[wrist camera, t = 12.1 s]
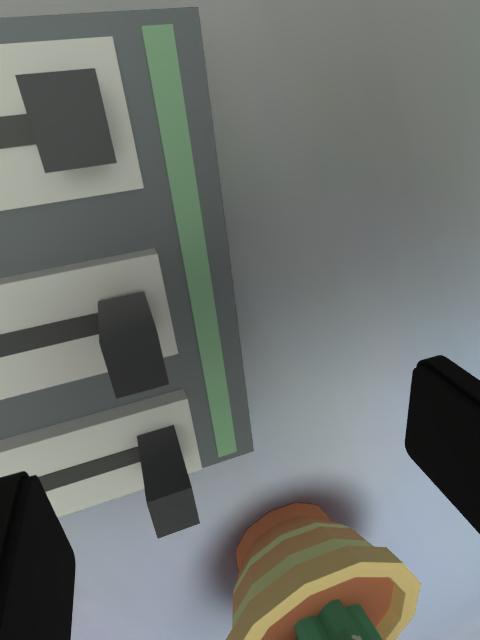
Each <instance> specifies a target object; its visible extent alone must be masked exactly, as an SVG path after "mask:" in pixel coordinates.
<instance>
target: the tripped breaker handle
mask: <svg viewBox="0 0 480 640" xmlns="http://www.w3.org/2000/svg"><path fill="white" fill-rule="evenodd" d="M98 325H99V344H100V347H101V351H102V354H103V357H104V361H105V364H106V367H107V370H108V374H109V377H110V380H111V383H112V387H113V390H114V393H115V396H116V399H118V398H121V397H125V396H129V395H132V394H136V393H140V392H143V391H147V390H150V389H154V388H158V387H161V386H165V385H169V381H168V376H167V372H166V368H165V363H164V359H163V355H162V350H161V346H160V341H159V337H158V333H157V329H156V326H155V323H154V320H153V317H152V314H151V311H150V308H149V305H148V301H147V298H146V295H145V292H144V291H143V292H139V293H134V294H130V295H125V296H120V297H116V298H111V299H107V300H102V301H98Z"/></svg>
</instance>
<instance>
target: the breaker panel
mask: <svg viewBox="0 0 480 640" xmlns="http://www.w3.org/2000/svg"><path fill="white" fill-rule="evenodd" d="M143 291H144V292H145V295H146V298H147V301H148V305H149V308H150V311H151V314H152V317H153V320H154V323H155V326H156V329H157V333H158V337H159V341H160V346H161V350H162V355H163V359H164V363H165V368H166V372H167V376H168V381H169V385H165V386H161V387H158V388H154V389H150V390H147V391H143V392H140V393H136V394H132V395H129V396H125V397H121V398H118V399H116V396H115V393H114V390H113V387H112V383H111V380H110V377H109V374H108V370H107V367H106V364H105V361H104V357H103V354H102V351H101V347H100V344H99V325H98V301H102V300H107V299H111V298H116V297H120V296H125V295H130V294H134V293H139V292H143ZM252 451H254V449H253V441H252V433H251V425H250V417H249V409H248V401H247V394H246V386H245V378H244V370H243V362H242V354H241V346H240V338H239V330H238V322H237V314H236V306H235V298H234V290H233V282H232V274H231V266H230V258H229V250H228V242H227V234H226V226H225V218H224V210H223V202H222V194H221V186H220V178H219V170H218V162H217V154H216V147H215V139H214V131H213V123H212V115H211V107H210V99H209V91H208V83H207V75H206V67H205V59H204V51H203V43H202V35H201V27H200V19H199V11H198V7H187V8H169V9H151V10H133V11H115V12H97V13H79V14H62V15H44V16H26V17H8V18H0V477H3V476H7V475H11V474H14V473H18V472H21V471H25V472H27V473H28V475H29V476H33V475H37V476H38V478H39V480H40V482H41V484H42V486H43V488H44V490H45V492H46V495H47V497H48V499H49V501H50V503H51V505H52V507H53V509H54V511H55V514H56V516H57V518H58V517H61V516H64V515H67V514H70V513H73V512H76V511H79V510H82V509H85V508H88V507H91V506H94V505H97V504H100V503H103V502H106V501H109V500H112V499H115V498H118V497H121V496H124V495H127V494H130V493H133V492H136V491H139V490H142V489H145V495H146V501H147V505H148V509H149V512H150V515H151V518H152V522H153V525H154V528H155V531H156V535H157V538H161V537H164V536H166V535H169V534H172V533H174V532H177V531H180V530H183V529H185V528H188V527H191V526H194V525H196V524H199V523H200V522H199V517H198V513H197V509H196V504H195V500H194V496H193V491H192V487H191V483H190V480H189V476H188V474H191V473H194V472H197V471H200V470H202V468H204V467H207V466H210V465H213V464H216V463H219V462H222V461H225V460H228V459H231V458H234V457H237V456H240V455H243V454H246V453H249V452H252Z"/></svg>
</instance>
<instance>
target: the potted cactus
mask: <svg viewBox="0 0 480 640" xmlns="http://www.w3.org/2000/svg"><path fill="white" fill-rule="evenodd" d="M236 558H237V567H238V569H239V574H238V577H237V581H236V584H235V587H234V590H233V624H232V630H231V632H230V634H229V635H228V637H227V639H226V640H396V639H397V637H398V636H399V635H400V633H401V632H402V631H403V629H404V628H405V627H406V625H407V624H408V623H409V621H410V620H411V619H412V618H413V616H414V614H415V610H416V605H417V600H418V595H419V591H420V586H421V583H420V582H419V581H418V580H417V578H416V577H415V576H414V575H413V574H412V573H411V572H410V570H409V569H408V568H407V567H406V566H405V565H404V564H403V562H401V561H400V560H399V559H398V558H397V557H396V556H395V555H394V554H393V553H392V552H391V551H390V550H389V549H388V548H387V547H374V546H373V545H371V544H370V543H369V542H368V541H366V540H365V539H364V538H362V537H361V536H360V535H359V534H357V533H356V532H355V531H353V530H352V529H351V528H350V527H348V526H345V525H342V524H340V523H337V522H334V521H331V520H330V519H329V516H328V515H327V514H326V513H325V512H324V511H323V510H322V509H321V508H320V507H319V506H318V505H315V504H305V503H293V504H290V505H287V506H284V507H281V508H278V509H275V510H272V511H270V512H268V513H267V514H266V515H265V516H263V517H262V518H261V519H260V520H258V521H257V522H256V523H254V524H253V525H252V526H251V527H249V528H248V529H247V531H246V532H245V534H244V536H243V538H242V539H241V541H240V543H239V545H238V547H237V548H236Z"/></svg>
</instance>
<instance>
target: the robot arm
mask: <svg viewBox="0 0 480 640" xmlns="http://www.w3.org/2000/svg"><path fill="white" fill-rule="evenodd" d="M405 448H406V451H407V453H408V455H409V456H410V457H411V459H412V460H413V461H414V462H415V463H416V464H417V465H418V466H419V467H420V468H421V470H422V471H423V472H424V473H425V474H426V475H427V476H428V477H429V478H430V480H431V481H432V482H433V483H434V484H435V485H436V486H437V487H438V488H439V489H440V491H441V492H442V493H443V494H444V495H445V496H446V497H447V498H448V499H449V501H450V502H451V503H452V504H453V505H454V506H455V507H456V508H457V509H458V510H459V512H460V513H461V514H462V515H463V516H464V517H465V518H466V519H467V520H468V522H469V523H470V524H471V525H472V526H473V527H474V528H475V529H476V530H477V531H478V533H479V534H480V380H478V379H477V378H475V377H474V376H472V375H471V374H470V373H468V372H467V371H465V370H464V369H462V368H461V367H459V366H458V365H457V364H455V363H454V362H452V361H451V360H449V359H448V358H447V357H445V356H442V355H438V356H435V357H431V358H428V359H424V360H421V361H419V362H418V364H417V367H416V368H414V370H413V374H412V383H411V392H410V401H409V410H408V419H407V428H406V437H405ZM74 582H75V556H74V552H73V550H72V547H71V545H70V543H69V541H68V539H67V537H66V535H65V533H64V531H63V528H62V526H61V524H60V522H59V520H58V518H57V516H56V514H55V511H54V509H53V507H52V505H51V503H50V501H49V499H48V497H47V495H46V492H45V490H44V488H43V486H42V484H41V482H40V480H39V478H38V476H37V475H33V476H29V475H28V473H27V472H25V471H21V472H18V473H14V474H11V475H7V476H3V477H0V640H70V639H71V625H72V611H73V596H74Z"/></svg>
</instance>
